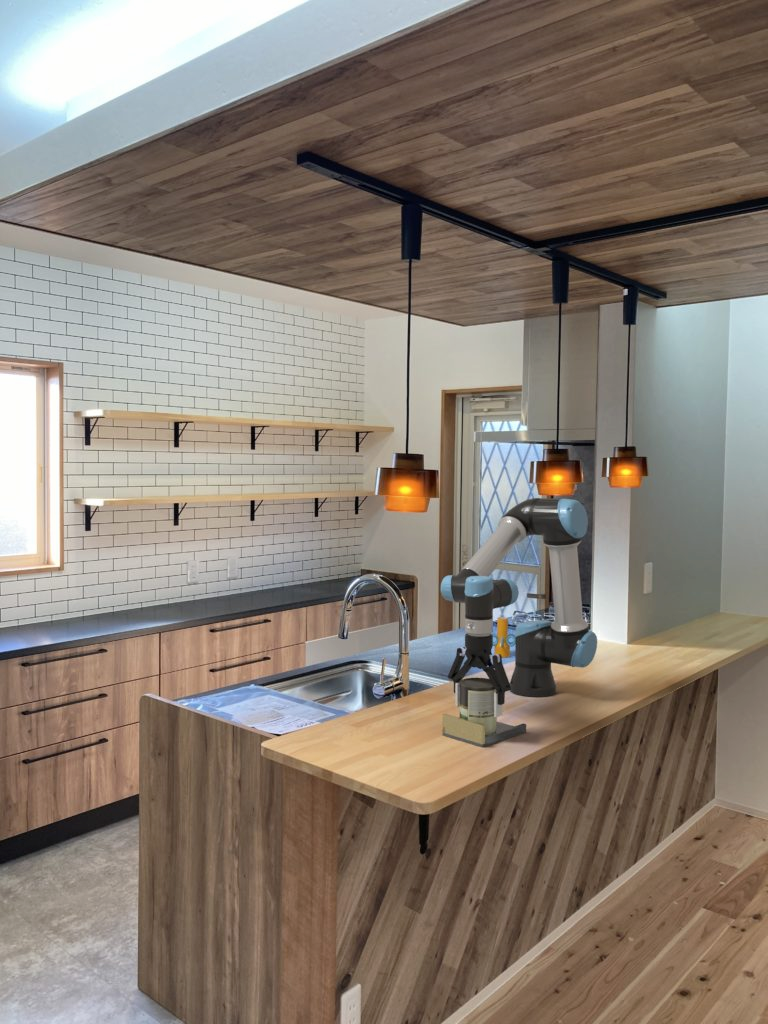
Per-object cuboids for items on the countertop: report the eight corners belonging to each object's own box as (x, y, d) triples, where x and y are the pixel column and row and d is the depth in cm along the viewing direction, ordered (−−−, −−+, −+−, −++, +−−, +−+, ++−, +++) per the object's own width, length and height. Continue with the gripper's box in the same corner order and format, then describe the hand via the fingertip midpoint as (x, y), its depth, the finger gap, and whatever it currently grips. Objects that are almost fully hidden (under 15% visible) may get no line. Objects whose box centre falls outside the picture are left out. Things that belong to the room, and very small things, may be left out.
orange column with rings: (515, 660, 328) (516, 621, 327) (488, 659, 329) (488, 620, 329) (515, 653, 340) (516, 616, 339) (489, 652, 341) (489, 615, 341)
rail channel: (486, 721, 246) (486, 701, 246) (526, 732, 236) (526, 711, 236) (442, 735, 233) (442, 714, 233) (482, 747, 223) (482, 725, 223)
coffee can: (451, 733, 232) (451, 682, 231) (472, 725, 240) (473, 675, 239) (483, 741, 225) (484, 688, 225) (504, 732, 233) (504, 681, 233)
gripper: (435, 629, 238) (435, 704, 239) (507, 642, 220) (506, 723, 221) (453, 625, 243) (453, 699, 244) (524, 638, 225) (524, 717, 226)
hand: (478, 710), depth 233 cm, fingers open, 13 cm apart
